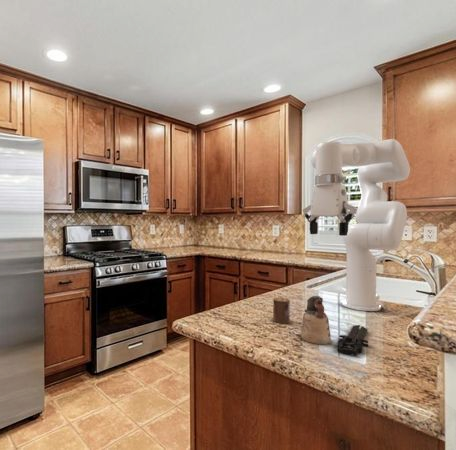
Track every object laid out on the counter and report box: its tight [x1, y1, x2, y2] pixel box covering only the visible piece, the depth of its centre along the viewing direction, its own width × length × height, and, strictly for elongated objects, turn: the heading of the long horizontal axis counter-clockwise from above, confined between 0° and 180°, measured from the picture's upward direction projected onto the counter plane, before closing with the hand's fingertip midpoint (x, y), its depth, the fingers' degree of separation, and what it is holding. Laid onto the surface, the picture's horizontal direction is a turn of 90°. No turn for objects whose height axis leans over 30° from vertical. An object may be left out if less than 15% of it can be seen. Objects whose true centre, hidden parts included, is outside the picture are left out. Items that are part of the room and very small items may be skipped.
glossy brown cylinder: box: [272, 297, 291, 325], centre depth 101 cm, size 5×5×7 cm
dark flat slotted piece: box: [336, 324, 369, 357], centre depth 85 cm, size 25×6×1 cm, turn 135°
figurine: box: [300, 295, 331, 345], centre depth 85 cm, size 7×7×12 cm
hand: (327, 234), depth 100 cm, fingers open, 9 cm apart
